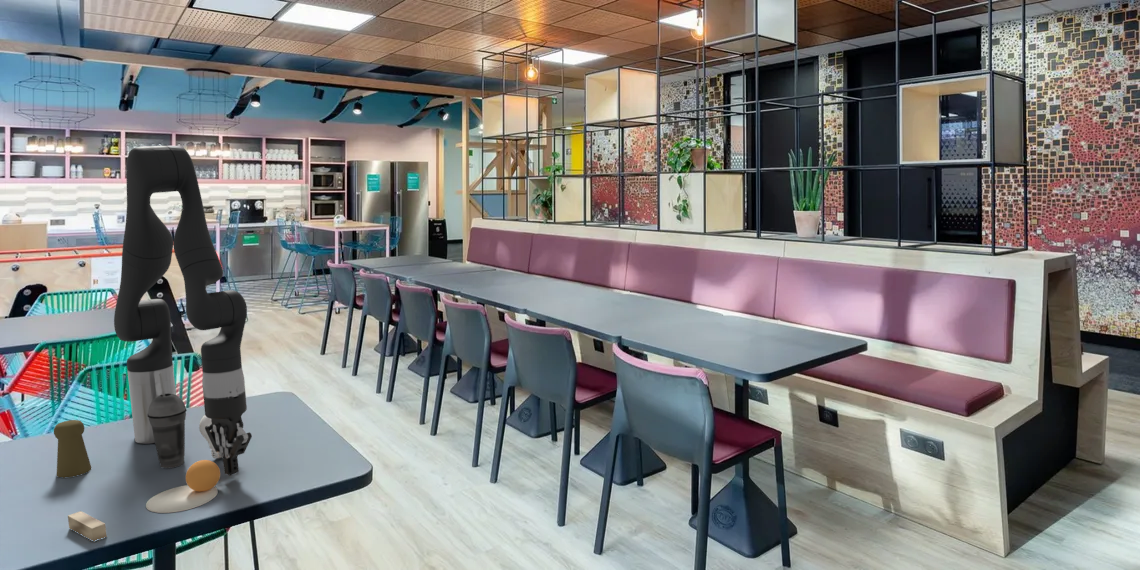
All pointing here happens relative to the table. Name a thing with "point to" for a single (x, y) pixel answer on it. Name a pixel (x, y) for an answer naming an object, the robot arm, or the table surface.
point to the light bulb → (203, 423)
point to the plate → (179, 499)
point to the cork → (71, 449)
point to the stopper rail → (87, 525)
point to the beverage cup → (168, 428)
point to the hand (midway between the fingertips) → (231, 473)
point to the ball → (202, 475)
